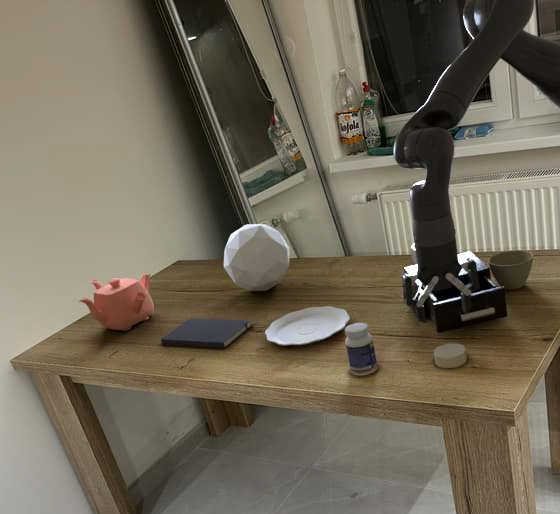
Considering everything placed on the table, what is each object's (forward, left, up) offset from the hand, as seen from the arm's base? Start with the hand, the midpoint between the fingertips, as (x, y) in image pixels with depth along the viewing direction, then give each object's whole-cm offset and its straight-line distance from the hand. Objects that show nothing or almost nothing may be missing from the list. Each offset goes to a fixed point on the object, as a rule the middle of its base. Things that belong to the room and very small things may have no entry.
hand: (444, 317), depth 133 cm
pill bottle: (+17, -5, -10) cm, 20 cm away
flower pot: (-24, -29, -10) cm, 39 cm away
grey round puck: (0, 0, -10) cm, 10 cm away
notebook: (+52, -45, -10) cm, 69 cm away
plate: (+26, -32, -10) cm, 42 cm away
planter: (-10, -45, -10) cm, 47 cm away
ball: (+35, -71, -10) cm, 80 cm away
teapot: (+77, -69, -10) cm, 104 cm away
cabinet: (-9, -29, -10) cm, 32 cm away
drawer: (-9, -15, -9) cm, 20 cm away
